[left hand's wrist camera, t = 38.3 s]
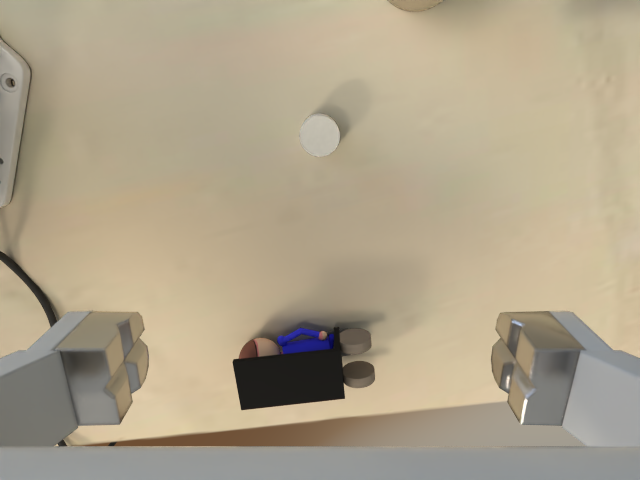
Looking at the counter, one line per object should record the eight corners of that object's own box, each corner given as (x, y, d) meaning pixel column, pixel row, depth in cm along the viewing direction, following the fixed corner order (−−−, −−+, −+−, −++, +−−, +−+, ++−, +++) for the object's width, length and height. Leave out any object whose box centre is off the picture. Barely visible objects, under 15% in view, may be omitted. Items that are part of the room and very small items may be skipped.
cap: (342, 116, 44) (343, 119, 41) (335, 155, 45) (336, 159, 43) (303, 110, 43) (302, 112, 41) (298, 149, 45) (296, 153, 42)
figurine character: (361, 306, 52) (235, 327, 51) (376, 342, 45) (230, 366, 44) (366, 354, 55) (245, 374, 54) (380, 395, 48) (241, 419, 47)
